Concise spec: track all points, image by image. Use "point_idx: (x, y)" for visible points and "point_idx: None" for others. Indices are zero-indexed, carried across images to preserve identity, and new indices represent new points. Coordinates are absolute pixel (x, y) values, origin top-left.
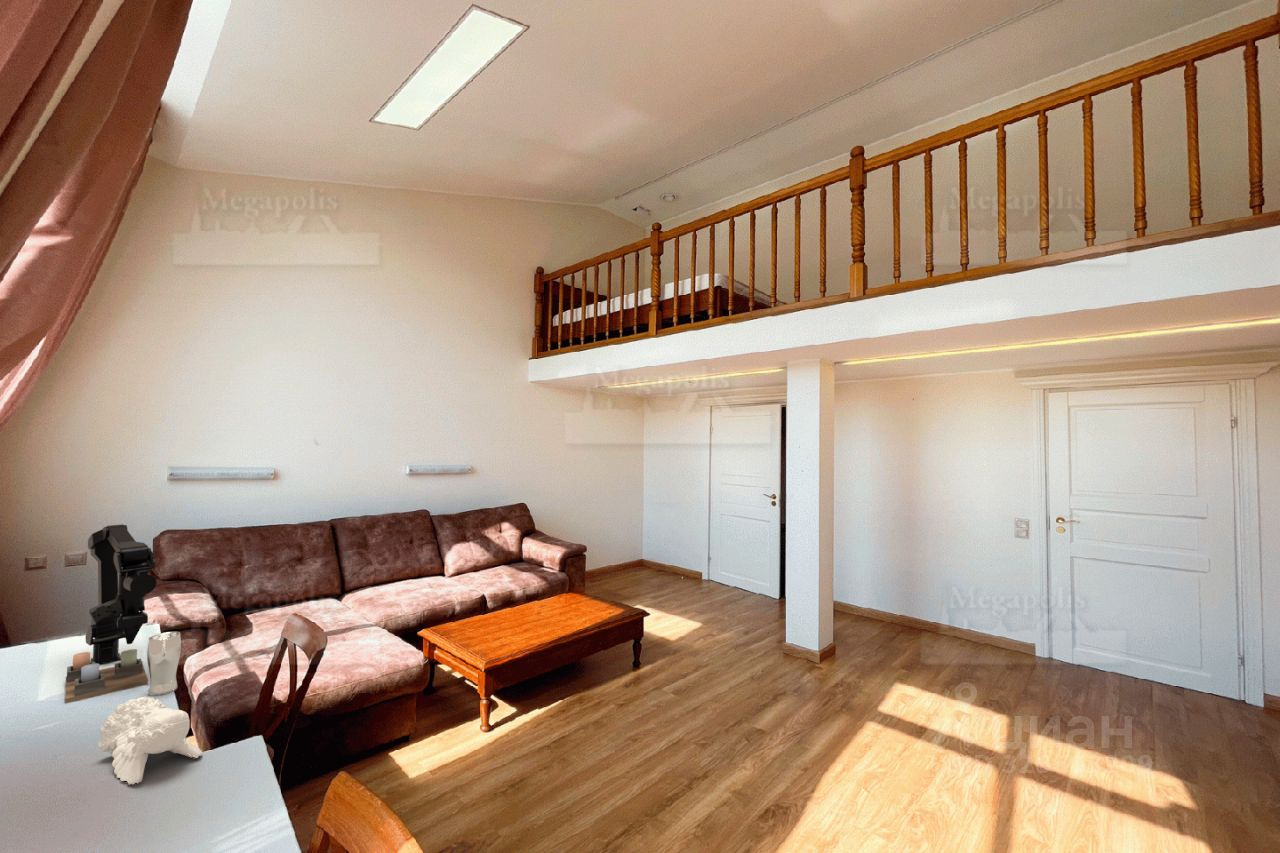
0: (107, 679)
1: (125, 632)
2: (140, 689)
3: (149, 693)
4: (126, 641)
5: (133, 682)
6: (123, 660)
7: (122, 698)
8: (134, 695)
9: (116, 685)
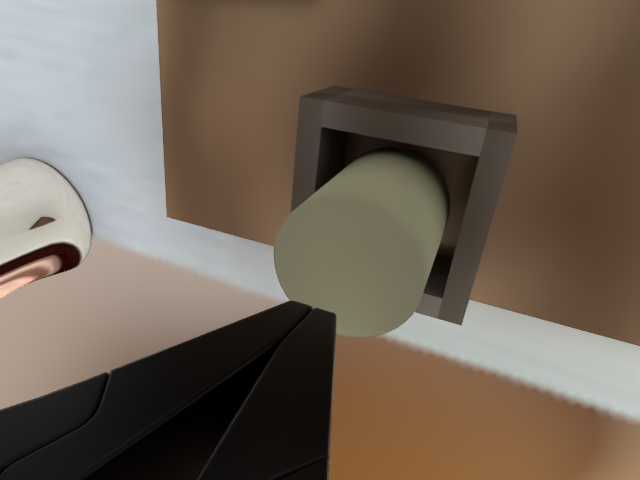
0: (389, 39)
1: (50, 406)
2: (127, 157)
3: (12, 161)
4: (258, 314)
5: (174, 151)
6: (331, 181)
7: (49, 56)
8: (59, 111)
9: (189, 62)
